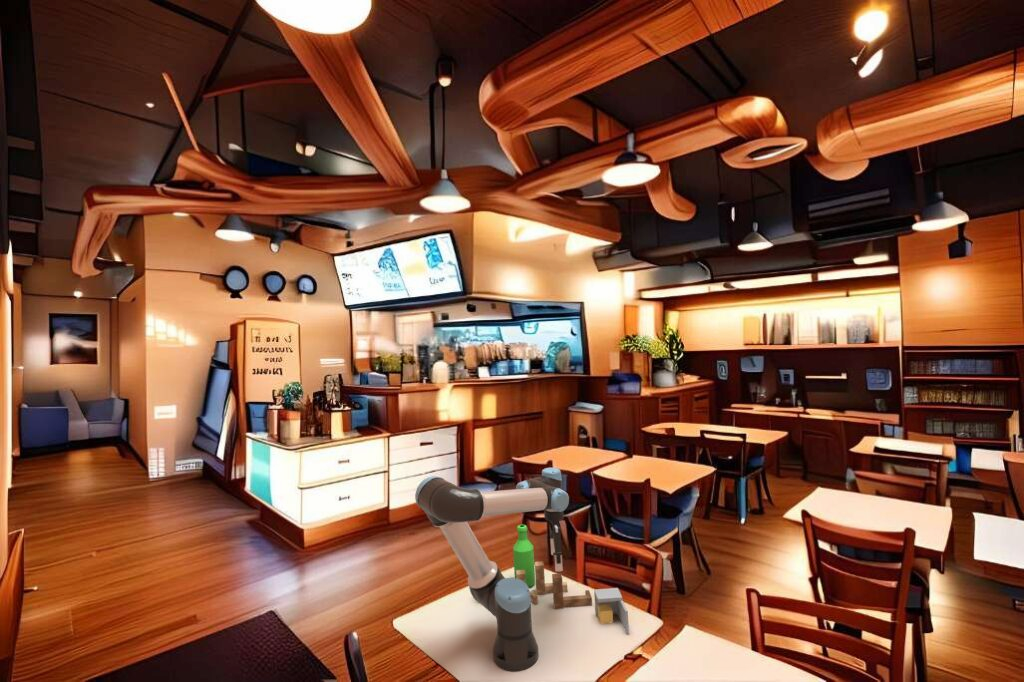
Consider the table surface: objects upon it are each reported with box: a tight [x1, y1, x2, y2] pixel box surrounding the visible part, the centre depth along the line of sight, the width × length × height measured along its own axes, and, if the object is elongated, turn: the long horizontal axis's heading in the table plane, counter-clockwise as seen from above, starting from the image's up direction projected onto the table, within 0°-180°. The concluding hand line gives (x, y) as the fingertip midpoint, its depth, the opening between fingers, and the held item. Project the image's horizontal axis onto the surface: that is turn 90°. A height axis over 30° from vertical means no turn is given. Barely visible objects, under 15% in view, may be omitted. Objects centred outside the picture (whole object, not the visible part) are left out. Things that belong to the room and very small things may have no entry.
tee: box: [516, 570, 539, 606], centre depth 191 cm, size 8×5×12 cm, turn 92°
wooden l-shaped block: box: [534, 561, 568, 596], centre depth 197 cm, size 13×4×12 cm, turn 92°
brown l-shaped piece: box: [551, 572, 593, 610], centre depth 188 cm, size 15×6×12 cm, turn 92°
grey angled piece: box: [593, 587, 630, 635], centre depth 173 cm, size 9×13×9 cm
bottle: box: [512, 524, 536, 588], centre depth 205 cm, size 9×9×25 cm
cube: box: [598, 604, 614, 624], centre depth 176 cm, size 4×4×4 cm
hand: (556, 562), depth 186 cm, fingers open, 13 cm apart
